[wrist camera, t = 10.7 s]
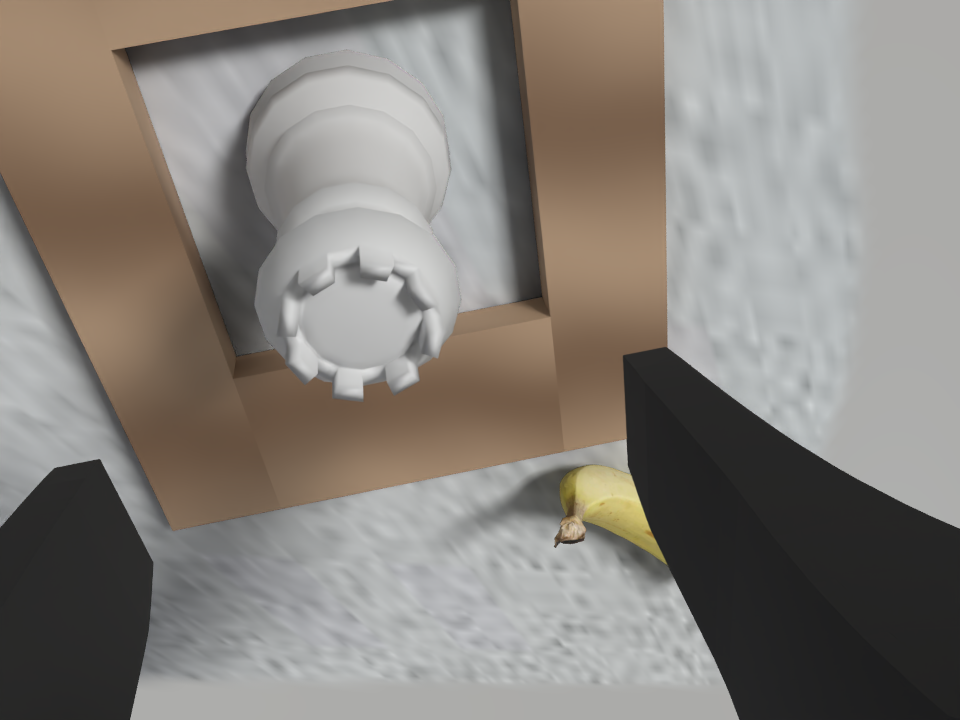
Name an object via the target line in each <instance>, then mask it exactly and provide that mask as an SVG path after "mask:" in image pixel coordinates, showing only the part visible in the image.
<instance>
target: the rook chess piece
mask: <svg viewBox="0 0 960 720" xmlns="http://www.w3.org/2000/svg"><path fill="white" fill-rule="evenodd" d="M449 155H450V152H449V146H448V140H447V134H446V127H445V121H444V116H443V115H442V113H441V111H440V110H439V108H438V107H437V105H436V104H435V102H434V100H433V99H432V97H431V96H430V94H429V93H428V91H427V89H426V88H425V86H424V85H423V83H422V82H421V81H419V80H418V79H416V78H415V77H413V76H412V75H410V74H409V73H408V72H406V71H405V70H403V69H402V68H400V67H399V66H398V65H396V64H395V63H393V62H392V61H390V60H389V59H386V58H381V57H377V56H372V55H368V54H363V53H359V52H354V51H350V50H343V51H338V52H332V53H327V54H321V55H316V56H310V57H305V58H304V59H302V60H301V61H299V62H298V63H296V64H295V65H293V66H292V67H290V68H289V69H287V70H286V71H284V72H283V73H281V74H280V75H278V76H277V77H276V78H274V79H273V80H271V81H270V83H269V85H268V86H267V88H266V89H265V91H264V93H263V94H262V96H261V98H260V99H259V101H258V103H257V104H256V106H255V108H254V109H253V111H252V112H251V114H250V120H249V128H248V137H247V145H246V157H247V164H246V170H247V174H248V177H249V180H250V183H251V187H252V190H253V193H254V196H255V199H256V203H257V206H258V207H259V209H260V210H261V212H262V213H263V214H264V215H265V217H266V218H267V219H268V220H269V221H270V223H271V224H272V225H273V226H274V227H275V229H276V230H277V231H278V232H277V239H276V245H275V246H274V248H273V249H272V251H271V252H270V254H269V255H268V257H267V258H266V260H265V261H264V263H263V264H262V266H261V267H260V269H259V273H258V280H257V288H256V295H255V303H254V306H255V309H256V312H257V315H258V318H259V321H260V324H261V327H262V330H263V333H264V336H265V338H266V340H267V341H268V342H269V343H270V344H271V345H272V346H273V347H274V348H275V349H276V350H277V351H278V353H279V354H280V355H281V356H282V357H283V358H284V359H285V364H286V366H287V367H288V368H289V369H290V370H291V371H292V372H293V373H294V374H295V375H296V376H297V377H298V378H299V379H300V381H301V382H302V383H303V384H304V385H306V384H307V383H308V382H309V381H310V380H311V379H313V378H314V377H316V378H318V379H320V380H322V381H324V382H332V398H333V399H342V400H351V401H359V402H363V386H364V385H369V384H374V383H379V382H384V381H387V384H388V385H389V387H390V389H391V391H392V393H393V395H394V396H395V395H396V394H398V393H400V392H401V391H403V390H405V389H407V388H408V387H410V386H412V385H414V384H415V383H417V382H419V381H420V378H419V372H418V367H419V366H421V365H423V364H425V363H426V362H428V361H430V360H431V359H432V357H434V358H438V357H439V353H440V349H441V346H442V345H443V344H444V343H445V341H446V340H447V339H448V338H449V336H450V335H451V334H452V333H453V329H454V325H455V322H456V318H457V315H458V311H459V307H460V304H461V300H462V299H461V294H460V288H459V282H458V277H457V271H456V266H455V264H454V263H453V261H452V260H451V258H450V257H449V256H448V254H447V253H446V251H445V250H444V249H443V247H442V246H441V244H440V243H439V242H438V240H437V239H436V237H435V236H434V235H433V230H432V228H431V227H430V225H429V224H430V223H431V221H432V220H433V219H434V217H435V216H436V215H437V213H438V212H439V211H440V209H441V207H442V204H443V201H444V196H445V192H446V188H447V184H448V180H449V176H450V172H451V163H450V157H449Z"/></svg>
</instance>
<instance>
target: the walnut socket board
mask: <svg viewBox="0 0 960 720" xmlns="http://www.w3.org/2000/svg"><path fill="white" fill-rule="evenodd" d="M386 1H392V0H0V173H1V175H2V177H3V179H4V181H5V183H6V185H7V188H8V190H9V192H10V194H11V196H12V198H13V200H14V202H15V204H16V206H17V208H18V210H19V212H20V215H21V217H22V219H23V221H24V223H25V225H26V227H27V229H28V231H29V233H30V235H31V237H32V239H33V241H34V244H35V246H36V248H37V250H38V252H39V254H40V256H41V258H42V260H43V262H44V264H45V266H46V268H47V271H48V273H49V275H50V277H51V279H52V281H53V283H54V285H55V287H56V289H57V291H58V293H59V295H60V298H61V300H62V302H63V304H64V306H65V308H66V310H67V312H68V314H69V316H70V318H71V320H72V322H73V325H74V327H75V329H76V331H77V333H78V335H79V337H80V339H81V341H82V343H83V345H84V347H85V349H86V352H87V354H88V356H89V358H90V360H91V362H92V364H93V366H94V368H95V370H96V372H97V374H98V376H99V379H100V381H101V383H102V385H103V387H104V389H105V391H106V393H107V395H108V397H109V399H110V401H111V403H112V406H113V408H114V410H115V412H116V414H117V416H118V418H119V420H120V422H121V424H122V426H123V428H124V430H125V433H126V435H127V437H128V439H129V441H130V443H131V445H132V447H133V449H134V451H135V453H136V455H137V457H138V460H139V462H140V464H141V466H142V468H143V470H144V472H145V474H146V476H147V478H148V480H149V482H150V484H151V487H152V489H153V491H154V493H155V495H156V497H157V499H158V501H159V503H160V505H161V507H162V509H163V511H164V514H165V516H166V518H167V520H168V522H169V524H170V526H171V528H172V530H173V531H175V530H180V529H185V528H190V527H195V526H200V525H204V524H209V523H214V522H219V521H224V520H229V519H234V518H239V517H244V516H249V515H254V514H259V513H264V512H269V511H274V510H279V509H283V508H288V507H293V506H298V505H303V504H308V503H313V502H318V501H323V500H328V499H333V498H338V497H343V496H348V495H353V494H357V493H362V492H367V491H372V490H377V489H382V488H387V487H392V486H397V485H402V484H407V483H412V482H417V481H422V480H427V479H431V478H436V477H441V476H446V475H451V474H456V473H461V472H466V471H471V470H476V469H481V468H486V467H491V466H496V465H501V464H505V463H510V462H515V461H520V460H525V459H530V458H535V457H540V456H545V455H550V454H555V453H560V452H565V451H570V450H575V449H579V448H584V447H589V446H594V445H599V444H604V443H609V442H614V441H619V440H624V439H627V434H626V413H625V392H624V372H623V355H627V354H632V353H637V352H642V351H647V350H652V349H657V348H662V347H667V265H666V181H665V97H664V13H663V0H510V4H511V13H512V23H513V32H514V41H515V50H516V59H517V69H518V78H519V87H520V96H521V106H522V115H523V124H524V133H525V142H526V152H527V161H528V170H529V179H530V189H531V198H532V207H533V216H534V225H535V235H536V244H537V253H538V262H539V272H540V281H541V290H542V297H541V298H535V299H530V300H525V301H520V302H515V303H510V304H505V305H499V306H494V307H489V308H484V309H479V310H474V311H469V312H463V313H458V315H457V318H456V322H455V325H454V329H453V333H452V334H451V335H450V336H449V338H448V339H447V340H446V341H445V343H444V344H443V345H442V346H441V349H440V353H439V357H438V358H434V357H432V359H431V360H430V361H428V362H426V363H425V364H423V365H421V366H419V367H418V372H419V378H420V381H419V382H417V383H415V384H414V385H412V386H410V387H408V388H407V389H405V390H403V391H401V392H400V393H398V394H396V395H395V396H394V395H393V393H392V391H391V389H390V387H389V385H388V384H387V381H384V382H379V383H374V384H369V385H364V386H363V402H359V401H351V400H342V399H333V398H332V382H324V381H322V380H320V379H318V378H316V377H314V378H313V379H311V380H310V381H309V382H308V383H307V384H306V385H304V384H303V383H302V382H301V381H300V379H299V378H298V377H297V376H296V375H295V374H294V373H293V372H292V371H291V370H290V369H289V368H288V367H287V366H286V364H285V359H284V358H283V357H282V356H281V355H280V354H279V353H278V351H277V350H276V349H273V350H268V351H263V352H258V353H252V354H247V355H242V356H237V357H236V354H235V352H234V349H233V346H232V343H231V341H230V338H229V335H228V332H227V329H226V327H225V324H224V321H223V318H222V316H221V313H220V310H219V307H218V305H217V302H216V299H215V296H214V294H213V291H212V288H211V285H210V283H209V280H208V277H207V274H206V271H205V269H204V266H203V263H202V260H201V258H200V255H199V252H198V249H197V247H196V244H195V241H194V238H193V236H192V233H191V230H190V227H189V224H188V222H187V219H186V216H185V213H184V211H183V208H182V205H181V202H180V200H179V197H178V194H177V191H176V189H175V186H174V183H173V180H172V178H171V175H170V172H169V169H168V166H167V164H166V161H165V158H164V155H163V153H162V150H161V147H160V144H159V142H158V139H157V136H156V133H155V131H154V128H153V125H152V122H151V120H150V117H149V114H148V111H147V108H146V106H145V103H144V100H143V97H142V95H141V92H140V89H139V86H138V84H137V81H136V78H135V75H134V73H133V70H132V67H131V64H130V61H129V59H128V56H127V53H126V50H125V48H127V47H132V46H138V45H144V44H149V43H155V42H161V41H166V40H172V39H178V38H183V37H189V36H194V35H200V34H206V33H211V32H217V31H223V30H228V29H234V28H240V27H245V26H251V25H256V24H262V23H268V22H273V21H279V20H285V19H290V18H296V17H302V16H307V15H313V14H318V13H324V12H330V11H335V10H341V9H347V8H352V7H358V6H363V5H369V4H375V3H380V2H386Z"/></svg>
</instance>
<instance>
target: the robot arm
mask: <svg viewBox="0 0 960 720" xmlns="http://www.w3.org/2000/svg"><path fill="white" fill-rule="evenodd" d="M623 372H624V392H625V413H626V434H627V454H628V467H629V470H630V473H631V476H632V479H633V482H634V485H635V488H636V491H637V494H638V497H639V500H640V502H641V505H642V508H643V511H644V514H645V517H646V519H647V522H648V525H649V528H650V530H651V532H652V534H653V536H654V538H655V540H656V542H657V544H658V546H659V548H660V550H661V552H662V554H663V556H664V559H665V561H666V563H667V565H668V567H669V569H670V571H671V573H672V575H673V577H674V579H675V581H676V583H677V585H678V587H679V589H680V591H681V593H682V595H683V597H684V599H685V601H686V603H687V605H688V607H689V609H690V611H691V613H692V615H693V617H694V619H695V621H696V623H697V625H698V627H699V629H700V631H701V633H702V635H703V637H704V639H705V641H706V643H707V645H708V647H709V649H710V651H711V653H712V655H713V657H714V659H715V662H716V664H717V666H718V668H719V671H720V673H721V675H722V677H723V680H724V682H725V684H726V686H727V689H728V691H729V693H730V696H731V699H732V701H733V704H734V707H735V709H736V712H737V715H738V717H739V720H960V529H959V528H957V527H954V526H952V525H950V524H947V523H945V522H943V521H940V520H938V519H936V518H934V517H931V516H929V515H927V514H925V513H923V512H921V511H918V510H917V509H914V508H912V507H910V506H908V505H906V504H904V503H902V502H900V501H898V500H896V499H894V498H892V497H891V496H888V495H887V494H885V493H883V492H881V491H879V490H877V489H875V488H873V487H871V486H869V485H867V484H866V483H863V482H861V481H860V480H857V479H856V478H854V477H852V476H850V475H849V474H847V473H845V472H844V471H842V470H840V469H838V468H837V467H835V466H833V465H831V464H830V463H828V462H827V461H825V460H823V459H822V458H820V457H819V456H817V455H815V454H814V453H812V452H811V451H809V450H807V449H806V448H804V447H802V446H801V445H799V444H798V443H796V442H794V441H793V440H791V439H790V438H788V437H787V436H785V435H784V434H782V433H781V432H780V431H778V430H777V429H775V428H774V427H772V426H771V425H770V424H768V423H767V422H765V421H764V420H763V419H761V418H760V417H758V416H757V415H755V414H754V413H753V412H751V411H750V410H748V409H747V408H746V407H744V406H743V405H741V404H740V403H739V402H737V401H736V400H735V399H733V398H732V397H731V396H729V395H728V394H727V393H725V392H724V391H723V390H722V389H720V388H719V387H718V386H716V385H715V384H714V383H712V382H711V381H710V380H708V379H707V378H706V377H705V376H703V375H702V374H701V373H699V372H698V371H697V370H696V369H694V368H693V367H692V366H691V365H689V364H688V363H687V362H685V361H684V360H683V359H682V358H680V357H679V356H678V355H676V354H675V353H674V352H672V351H671V350H670V349H668V348H667V347H662V348H657V349H652V350H647V351H642V352H637V353H632V354H627V355H623ZM152 577H153V561H152V559H151V557H150V555H149V553H148V551H147V549H146V548H145V546H144V544H143V542H142V540H141V538H140V536H139V534H138V532H137V530H136V528H135V526H134V524H133V522H132V520H131V518H130V516H129V515H128V513H127V511H126V509H125V507H124V505H123V503H122V501H121V499H120V497H119V495H118V493H117V491H116V489H115V487H114V485H113V484H112V482H111V480H110V478H109V476H108V474H107V472H106V470H105V468H104V466H103V464H102V462H101V460H100V459H98V460H93V461H88V462H82V463H77V464H72V465H67V466H62V467H57V468H54V469H53V470H52V471H51V472H50V473H49V474H48V475H47V476H46V477H45V478H44V479H43V480H42V481H41V483H40V484H39V485H38V486H37V487H36V488H35V489H34V490H33V491H32V492H31V493H30V495H29V496H28V497H27V498H26V499H25V500H24V501H23V502H22V504H21V505H20V506H19V507H18V508H17V509H16V510H15V512H14V513H13V514H12V515H11V516H10V517H9V518H8V520H7V521H6V522H5V523H4V524H3V525H2V526H1V528H0V720H130V717H131V712H132V708H133V704H134V699H135V694H136V690H137V685H138V680H139V676H140V671H141V666H142V661H143V657H144V652H145V647H146V642H147V637H148V631H149V620H150V609H151V596H152Z"/></svg>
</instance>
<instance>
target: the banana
mask: <svg viewBox="0 0 960 720" xmlns="http://www.w3.org/2000/svg"><path fill="white" fill-rule="evenodd" d="M560 500H561V504H562V507H563V510H564V512H565V514H566V517H565V518H563V519H562V521H561V523H560V525H561V527H560V530H559V533H558V534H557V535H556V537H555V546H554V547H555V548H556V547H557V545H558V544H559V543H560V542H561V543H563V544H574V543H578V542H581V541H584V538H585V532H586V528H585V527H584V525H583V524H582V521H586V522H589V523H592V524H595V525H597V526H600V527H603V528H605V529H607V530H609V531H611V532H613V533H614V534H617V535H619V536H621V537H623V538H625V539H626V540H628V541H630V542H632V543H634V544H635V545H637V546H639V547H640V548H642V549H644V550H646V551H647V552H649V553H650V554H652V555H653V556H655V557H656V558H658V559H659V560H661V561H662V562H664V563H665V564H666V565H667V563H666V561H665V559H664V556H663V554H662V552H661V550H660V548H659V546H658V544H657V542H656V540H655V538H654V536H653V534H652V532H651V530H650V528H649V525H648V522H647V519H646V517H645V514H644V511H643V508H642V505H641V502H640V500H639V497H638V494H637V491H636V488H635V485H634V482H633V479H632V476H631V475H629V474H627V473H624V472H622V471H619V470H616V469H613V468H610V467H605V466H600V465H586V466H582V467H578V468H576V469H573V470H571V471H570V472H568V473H567V474H566V475H565V476H564V477H563V479H562V480H561V482H560Z"/></svg>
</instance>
